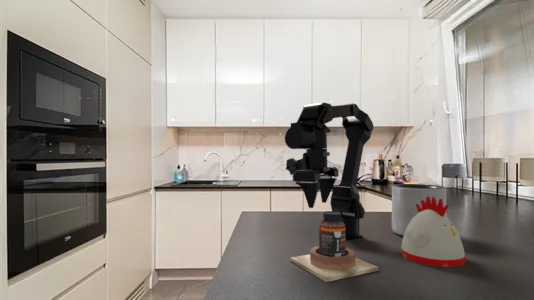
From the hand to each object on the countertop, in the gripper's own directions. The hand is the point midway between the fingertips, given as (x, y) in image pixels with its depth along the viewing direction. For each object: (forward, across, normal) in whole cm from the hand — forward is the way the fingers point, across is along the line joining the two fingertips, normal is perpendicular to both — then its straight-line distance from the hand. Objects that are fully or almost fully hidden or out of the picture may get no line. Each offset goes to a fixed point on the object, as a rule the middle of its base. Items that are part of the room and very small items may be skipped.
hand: (317, 205), depth 85 cm
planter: (+13, -30, +22) cm, 39 cm away
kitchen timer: (+12, -7, +27) cm, 31 cm away
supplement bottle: (+11, +12, +8) cm, 18 cm away
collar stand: (+11, +12, +8) cm, 18 cm away
